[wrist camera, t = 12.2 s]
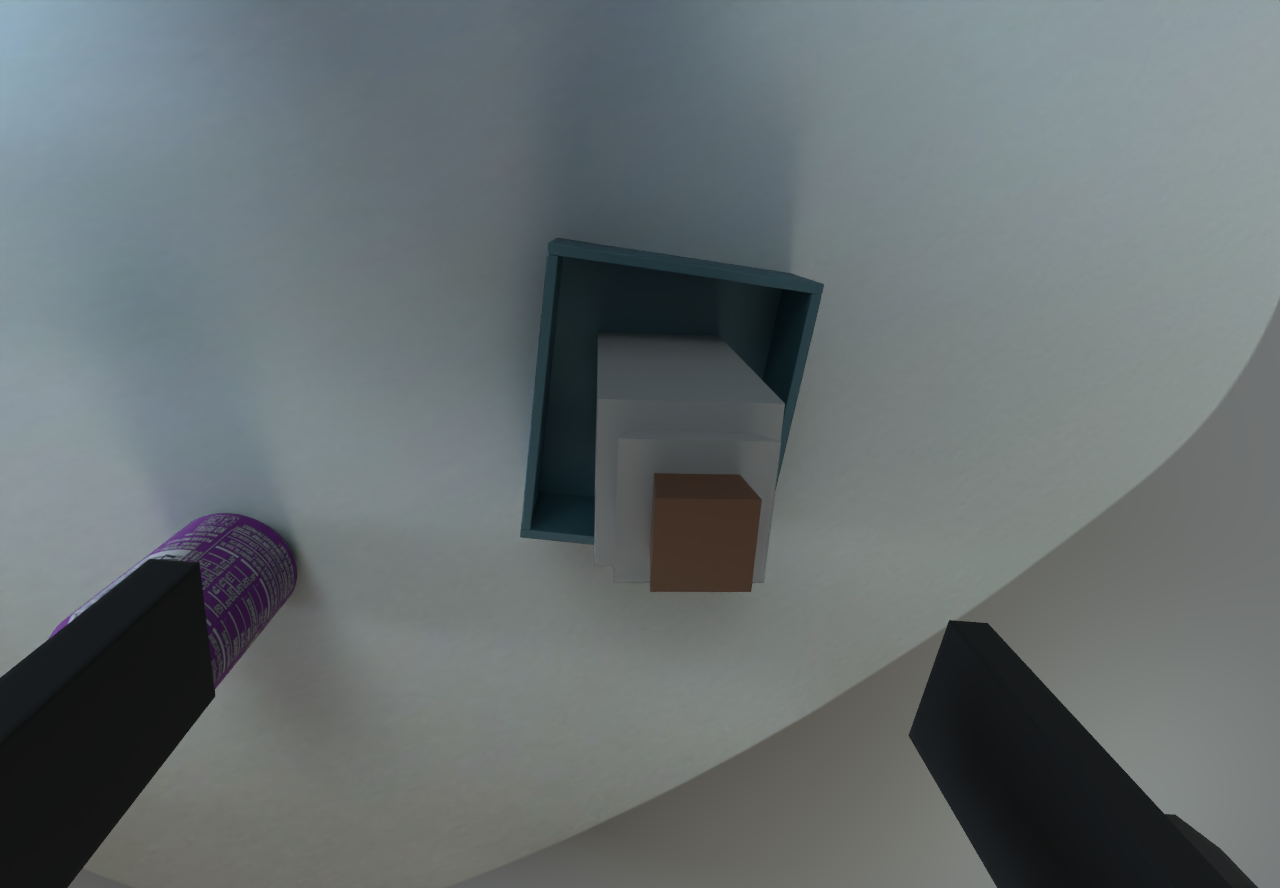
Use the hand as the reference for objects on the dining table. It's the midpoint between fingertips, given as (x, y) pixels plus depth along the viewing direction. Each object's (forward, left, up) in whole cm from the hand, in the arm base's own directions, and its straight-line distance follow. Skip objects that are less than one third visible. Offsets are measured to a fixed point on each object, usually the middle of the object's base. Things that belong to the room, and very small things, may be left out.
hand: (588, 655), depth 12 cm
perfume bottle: (+2, +4, -26) cm, 26 cm away
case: (+2, +4, -27) cm, 27 cm away
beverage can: (+16, -20, -27) cm, 37 cm away
